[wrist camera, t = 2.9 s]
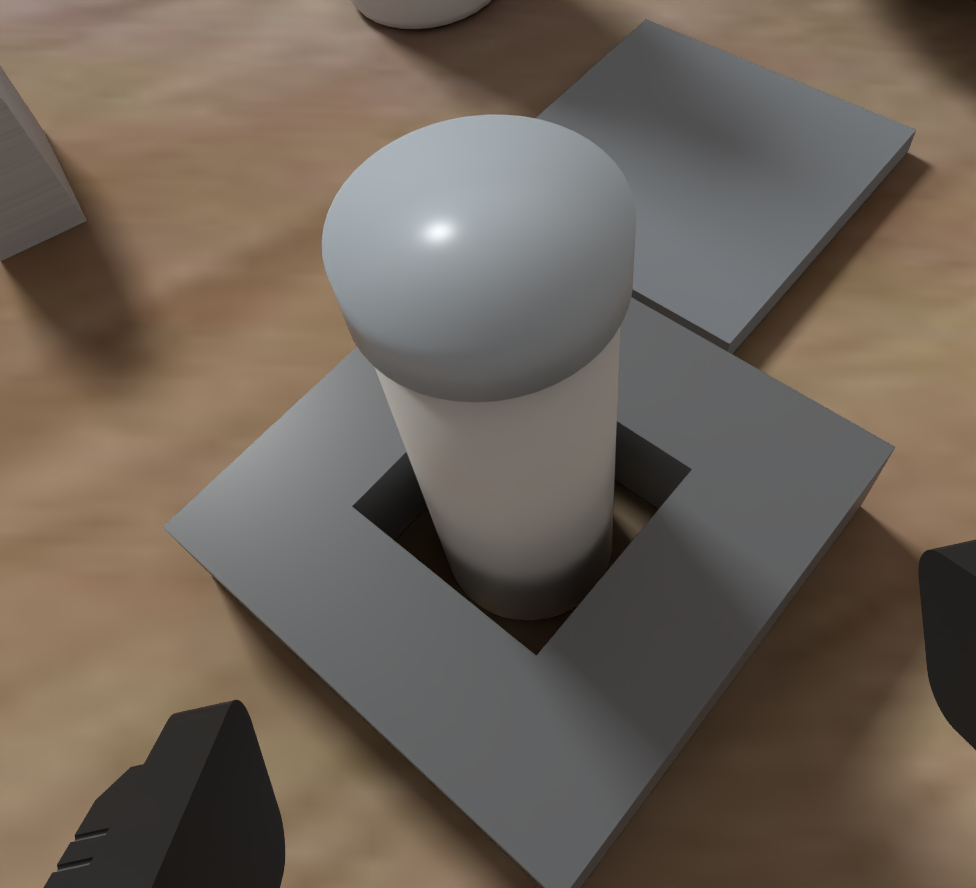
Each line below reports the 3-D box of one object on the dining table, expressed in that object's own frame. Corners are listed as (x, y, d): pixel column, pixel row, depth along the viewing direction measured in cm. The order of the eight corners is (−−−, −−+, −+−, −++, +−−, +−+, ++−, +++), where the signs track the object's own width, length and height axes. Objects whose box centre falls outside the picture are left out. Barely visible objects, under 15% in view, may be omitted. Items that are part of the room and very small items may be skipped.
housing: (210, 574, 27) (162, 527, 24) (503, 289, 32) (494, 219, 29) (565, 908, 22) (559, 901, 19) (861, 505, 26) (895, 447, 23)
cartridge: (404, 553, 27) (258, 249, 15) (518, 433, 29) (464, 77, 17) (540, 665, 25) (492, 409, 13) (655, 527, 26) (700, 193, 15)
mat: (458, 208, 34) (455, 189, 33) (645, 40, 38) (646, 19, 37) (725, 361, 29) (729, 343, 28) (908, 151, 33) (916, 129, 32)
